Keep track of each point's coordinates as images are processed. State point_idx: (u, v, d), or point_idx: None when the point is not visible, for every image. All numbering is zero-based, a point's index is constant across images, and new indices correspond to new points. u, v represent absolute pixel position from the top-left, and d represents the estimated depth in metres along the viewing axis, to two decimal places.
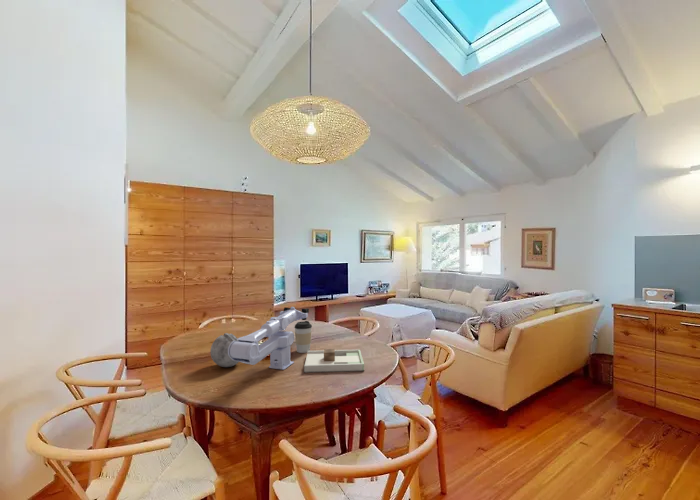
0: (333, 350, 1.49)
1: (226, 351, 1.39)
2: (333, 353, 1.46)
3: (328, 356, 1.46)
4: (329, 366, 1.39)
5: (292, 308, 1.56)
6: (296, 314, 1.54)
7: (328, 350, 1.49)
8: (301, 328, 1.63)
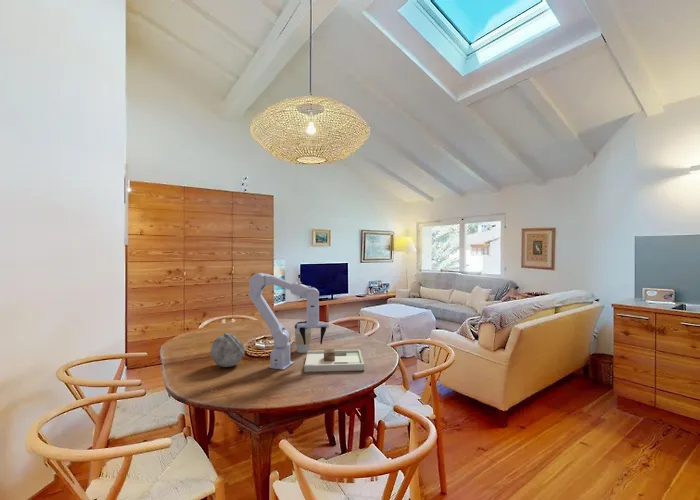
0: (333, 350, 1.49)
1: (226, 351, 1.39)
2: (333, 353, 1.46)
3: (328, 356, 1.46)
4: (329, 366, 1.39)
5: (312, 325, 1.45)
6: None
7: (328, 350, 1.49)
8: None
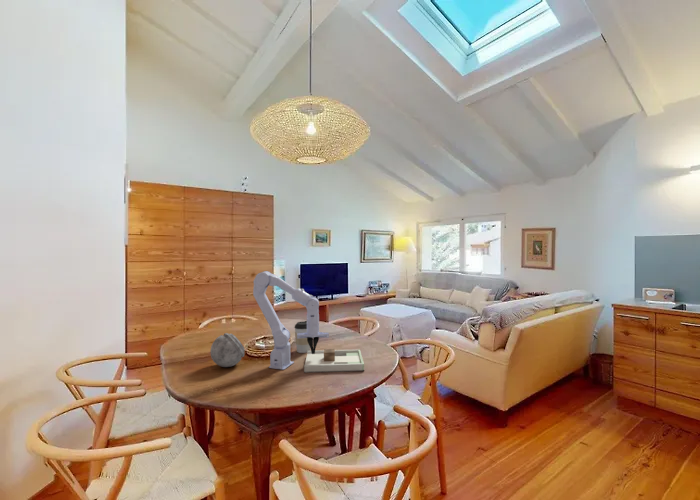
0: (333, 350, 1.49)
1: (226, 351, 1.39)
2: (333, 353, 1.46)
3: (328, 356, 1.46)
4: (329, 366, 1.39)
5: (312, 335, 1.45)
6: (307, 331, 1.47)
7: (328, 350, 1.49)
8: (301, 328, 1.63)
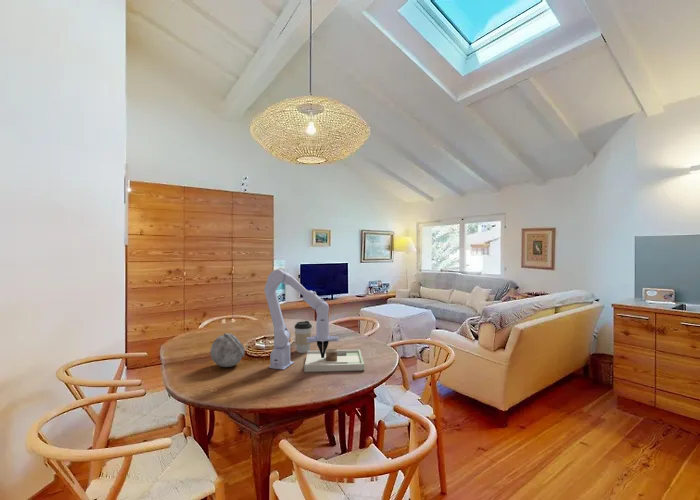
0: (335, 350, 1.49)
1: (226, 351, 1.39)
2: (335, 353, 1.46)
3: (330, 356, 1.46)
4: (329, 366, 1.39)
5: (322, 339, 1.45)
6: None
7: (330, 350, 1.49)
8: (301, 328, 1.63)
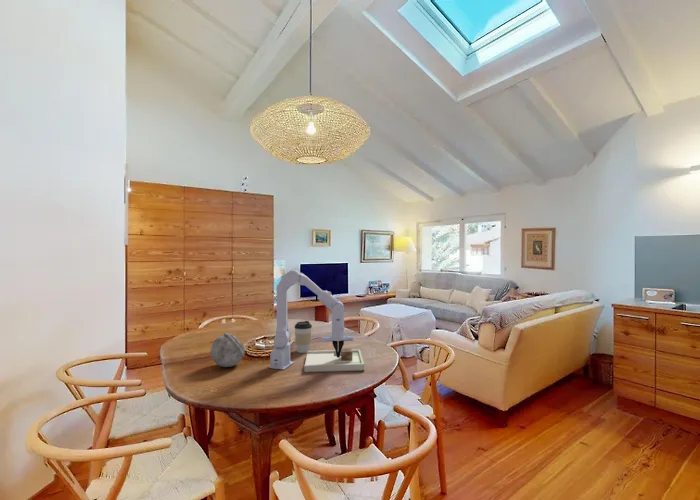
0: (350, 349, 1.50)
1: (226, 351, 1.39)
2: (350, 352, 1.47)
3: (346, 355, 1.47)
4: (329, 366, 1.39)
5: (338, 339, 1.45)
6: (332, 335, 1.48)
7: (346, 349, 1.50)
8: (301, 328, 1.63)
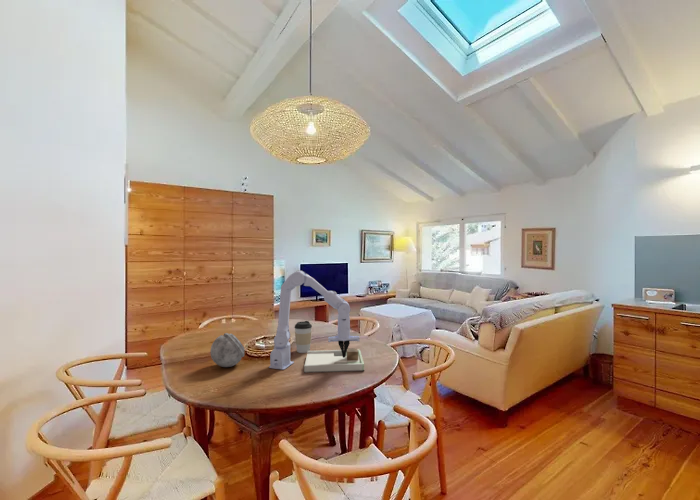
0: (355, 349, 1.50)
1: (226, 351, 1.39)
2: (356, 352, 1.47)
3: (351, 355, 1.47)
4: (329, 366, 1.39)
5: (344, 339, 1.46)
6: (338, 335, 1.48)
7: (351, 349, 1.50)
8: (301, 328, 1.63)
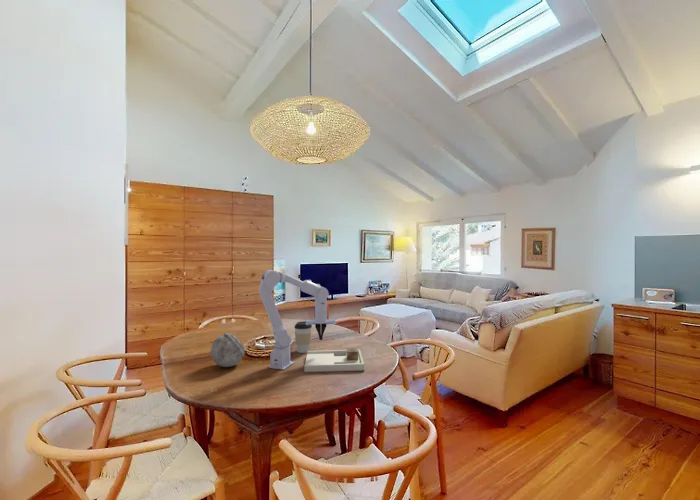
0: (355, 349, 1.50)
1: (226, 351, 1.39)
2: (356, 352, 1.47)
3: (351, 355, 1.47)
4: (329, 366, 1.39)
5: (320, 321, 1.52)
6: (315, 318, 1.54)
7: (351, 349, 1.50)
8: (301, 328, 1.63)
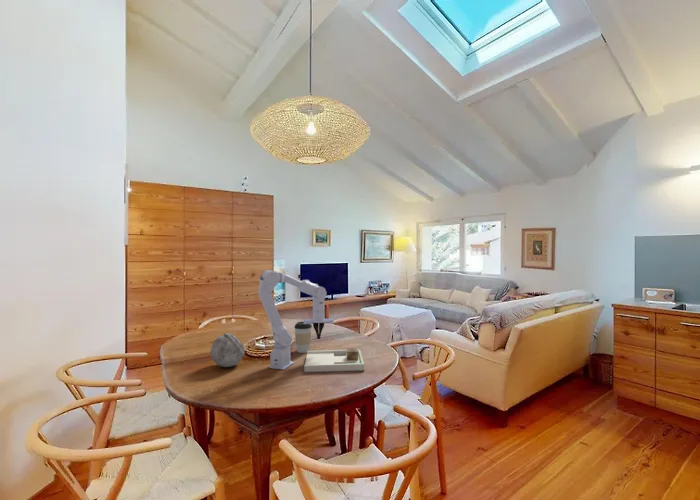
0: (355, 349, 1.50)
1: (226, 351, 1.39)
2: (356, 352, 1.47)
3: (351, 355, 1.47)
4: (329, 366, 1.39)
5: (318, 321, 1.53)
6: (313, 317, 1.56)
7: (351, 349, 1.50)
8: (301, 328, 1.63)
